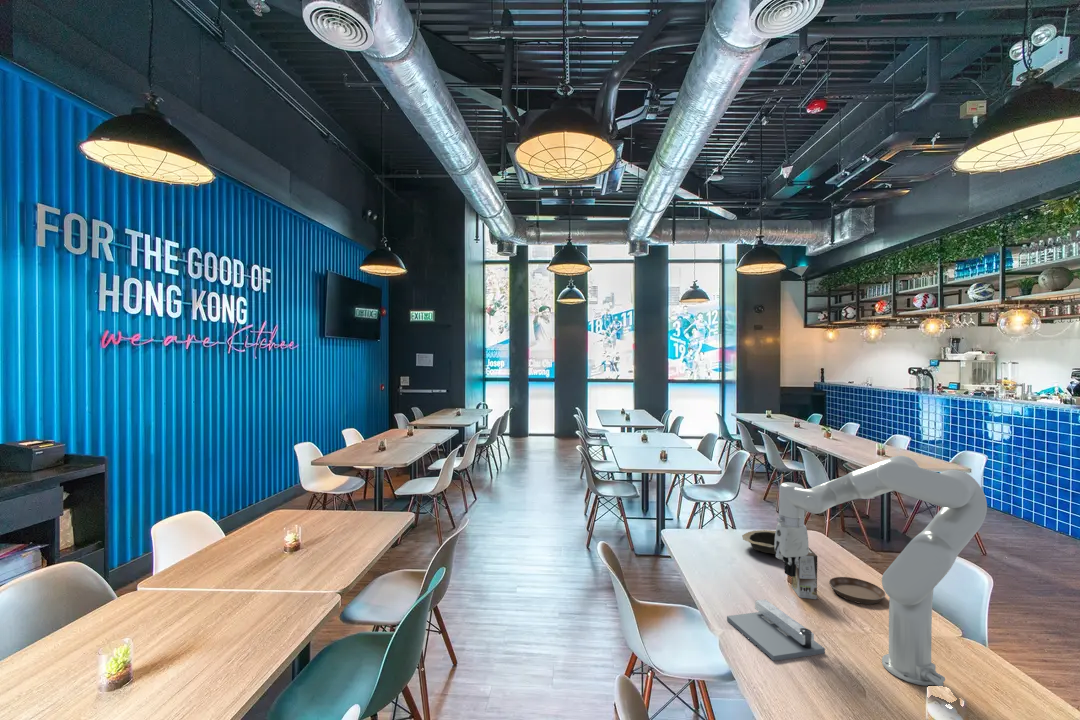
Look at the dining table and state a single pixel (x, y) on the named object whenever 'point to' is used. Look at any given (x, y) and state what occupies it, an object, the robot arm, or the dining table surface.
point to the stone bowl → (761, 540)
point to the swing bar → (785, 623)
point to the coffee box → (806, 576)
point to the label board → (771, 637)
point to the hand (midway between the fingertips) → (790, 574)
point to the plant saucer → (857, 590)
